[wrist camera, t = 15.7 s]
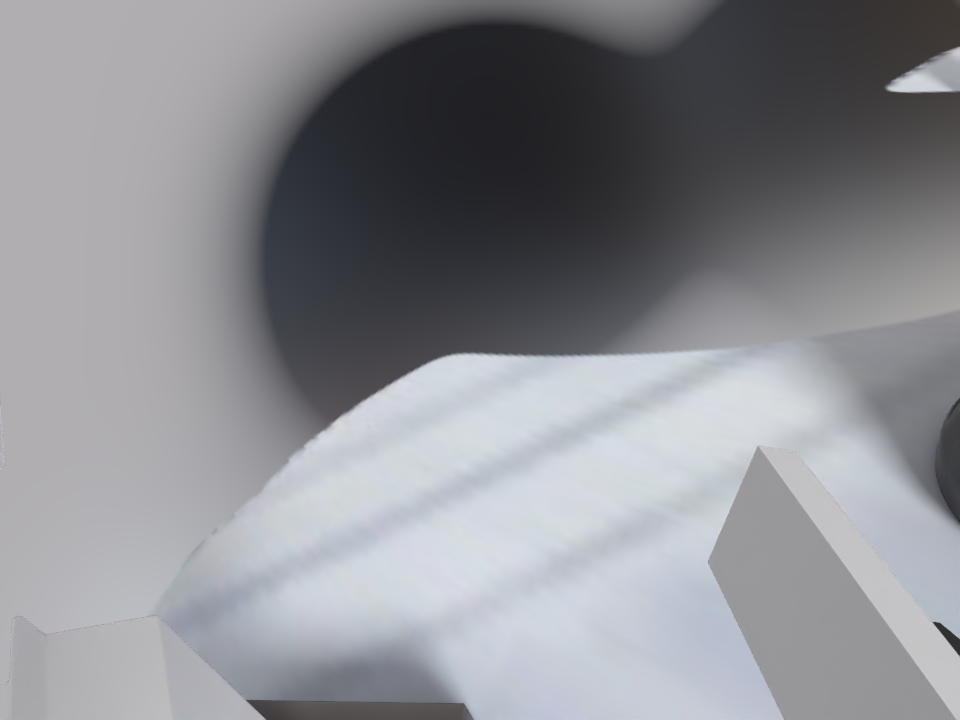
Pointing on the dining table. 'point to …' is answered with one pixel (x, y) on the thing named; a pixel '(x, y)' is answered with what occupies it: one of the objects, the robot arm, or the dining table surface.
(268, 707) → the dock
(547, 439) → the dining table surface
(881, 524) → the dining table surface
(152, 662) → the milk
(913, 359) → the dining table surface
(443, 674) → the dining table surface
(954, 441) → the robot arm
